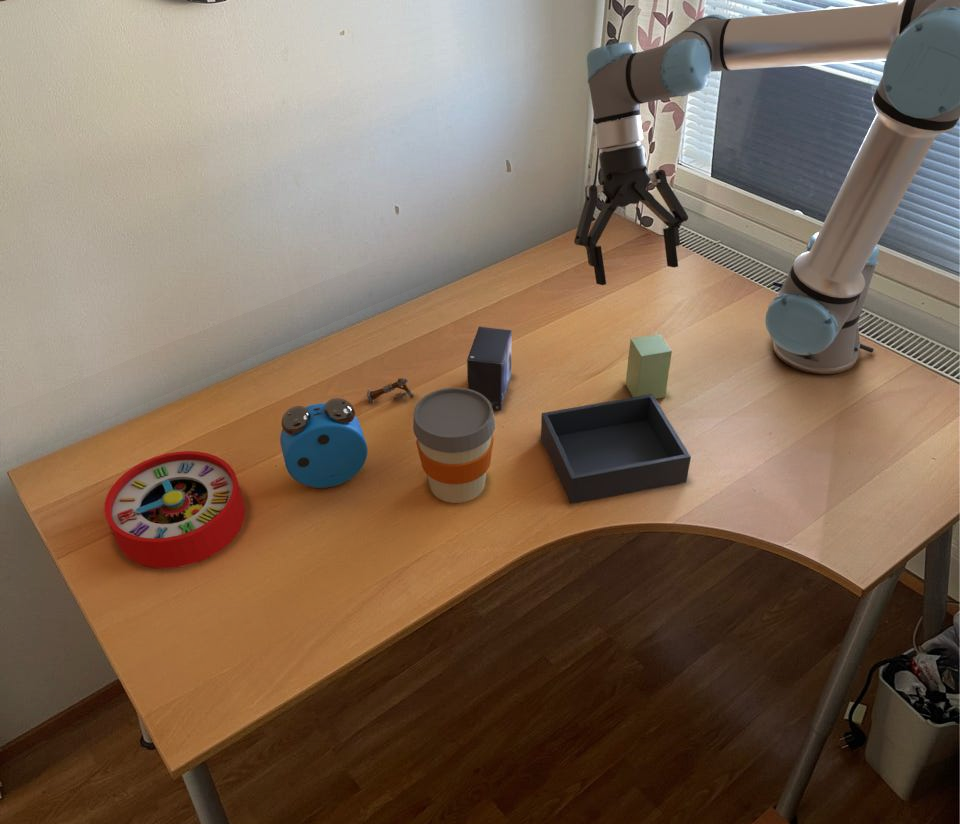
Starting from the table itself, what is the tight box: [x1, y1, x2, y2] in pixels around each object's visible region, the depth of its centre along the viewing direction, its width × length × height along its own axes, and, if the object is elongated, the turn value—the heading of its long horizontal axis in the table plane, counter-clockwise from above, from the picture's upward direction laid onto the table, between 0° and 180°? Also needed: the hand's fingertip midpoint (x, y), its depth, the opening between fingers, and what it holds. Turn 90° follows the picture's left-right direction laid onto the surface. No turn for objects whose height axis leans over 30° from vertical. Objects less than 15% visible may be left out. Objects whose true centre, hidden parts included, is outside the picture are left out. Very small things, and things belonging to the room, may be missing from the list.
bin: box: [540, 394, 692, 505], centre depth 148 cm, size 20×17×6 cm
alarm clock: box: [279, 397, 369, 489], centre depth 144 cm, size 13×6×15 cm, turn 107°
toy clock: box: [103, 450, 246, 570], centre depth 141 cm, size 20×6×20 cm
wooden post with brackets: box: [366, 377, 414, 404], centre depth 162 cm, size 2×8×4 cm, turn 92°
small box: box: [466, 326, 513, 411], centre depth 160 cm, size 11×6×10 cm, turn 168°
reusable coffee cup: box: [412, 387, 496, 504], centre depth 142 cm, size 13×13×15 cm
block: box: [625, 333, 673, 400], centre depth 160 cm, size 6×6×10 cm
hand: (637, 275), depth 158 cm, fingers open, 13 cm apart
